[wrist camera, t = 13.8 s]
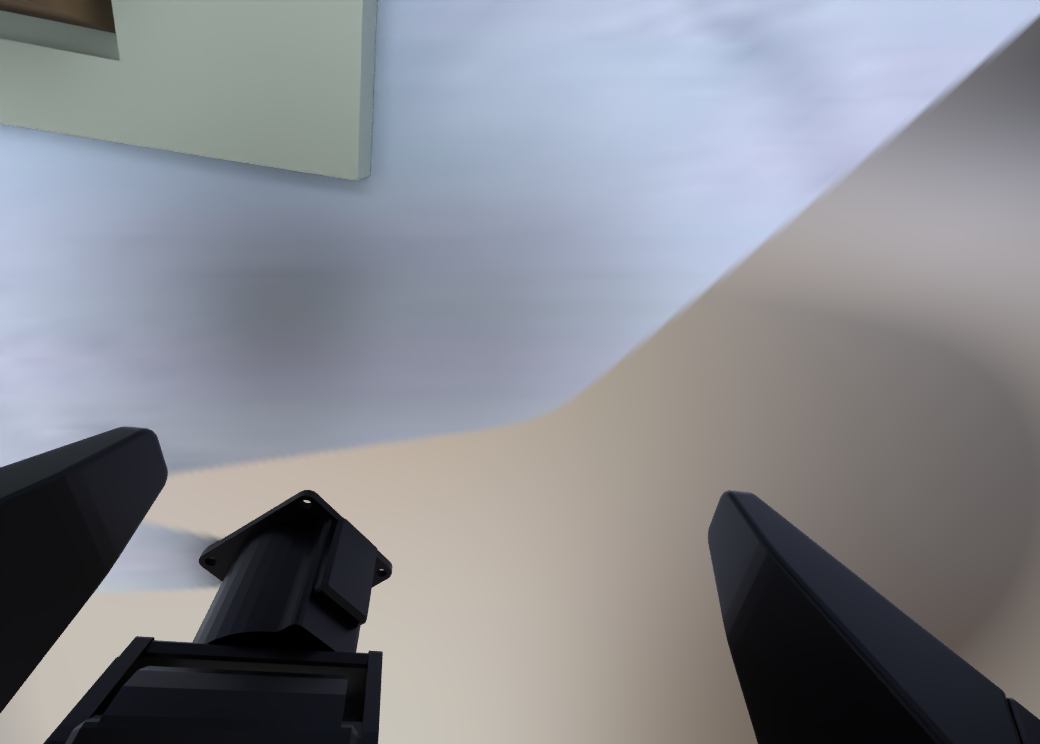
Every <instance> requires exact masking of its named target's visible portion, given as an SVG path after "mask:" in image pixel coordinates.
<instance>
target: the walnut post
mask: <svg viewBox="0 0 1040 744" xmlns="http://www.w3.org/2000/svg"><path fill="white" fill-rule="evenodd" d="M0 10H1V11H6V12H11V13H16V14H21V15H26V16H31V17H36V18H41V19H46V20H51V21H56V22H61V23H66V24H71V25H76V26H81V27H86V28H91V29H96V30H101V31H106V32H111V33H116V30H115V23H114V16H113V9H112V2H111V0H0Z"/></svg>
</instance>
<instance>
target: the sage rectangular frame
mask: <svg viewBox="0 0 1040 744" xmlns="http://www.w3.org/2000/svg"><path fill="white" fill-rule="evenodd" d="M111 2H112V9H113V16H114V23H115V30H116V33H111V32H106V31H101V30H96V29H91V28H86V27H81V26H76V25H71V24H66V23H61V22H56V21H51V20H46V19H41V18H36V17H31V16H26V15H21V14H16V13H11V12H6V11H1V10H0V124H6V125H12V126H18V127H24V128H31V129H37V130H43V131H49V132H55V133H62V134H68V135H74V136H80V137H87V138H93V139H99V140H105V141H111V142H118V143H124V144H130V145H136V146H143V147H149V148H155V149H161V150H167V151H174V152H180V153H186V154H192V155H199V156H205V157H211V158H217V159H224V160H230V161H236V162H242V163H248V164H255V165H261V166H267V167H273V168H280V169H286V170H292V171H298V172H304V173H311V174H317V175H323V176H329V177H336V178H342V179H348V180H354V181H359V180H361V179H363V178H365V177H368V176H370V170H371V145H372V119H373V93H374V67H375V41H376V15H377V0H111Z"/></svg>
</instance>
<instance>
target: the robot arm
mask: <svg viewBox="0 0 1040 744" xmlns="http://www.w3.org/2000/svg"><path fill="white" fill-rule="evenodd" d="M167 475H168V470H167V466H166V463H165V460H164V457H163V453H162V450H161V447H160V444H159V441H158V438H157V435H156V434H155V433H154V432H153V431H152V430H149V429H146V428H137V427H119V428H116V429H113V430H110V431H107V432H104V433H101V434H98V435H95V436H92V437H89V438H86V439H83V440H80V441H77V442H75V443H72V444H69V445H66V446H63V447H60V448H57V449H54V450H51V451H48V452H45V453H42V454H39V455H36V456H33V457H30V458H27V459H24V460H21V461H18V462H16V463H13V464H10V465H7V466H4V467H1V468H0V713H1V712H2V710H3V709H4V708H5V707H6V705H7V704H8V703H9V701H10V700H11V699H12V697H13V696H14V695H15V694H16V692H17V691H18V690H19V688H20V687H21V686H22V685H23V683H24V682H25V681H26V679H27V678H28V677H29V675H30V674H31V673H32V672H33V670H34V669H35V668H36V666H37V665H38V664H39V663H40V661H41V660H42V659H43V657H44V656H45V655H46V654H47V652H48V651H49V650H50V648H51V647H52V646H53V644H54V643H55V642H56V641H57V639H58V638H59V637H60V635H61V634H62V633H63V632H64V630H65V629H66V628H67V626H68V625H69V624H70V623H71V621H72V620H73V619H74V617H75V616H76V615H77V613H78V612H79V611H80V610H81V608H82V607H83V606H84V604H85V603H86V602H87V601H88V599H89V598H90V597H91V595H92V594H93V593H94V591H95V590H96V589H97V588H98V586H99V585H100V583H101V582H102V581H103V579H104V578H105V577H106V575H107V574H108V573H109V571H110V570H111V568H112V567H113V565H114V564H115V562H116V561H117V559H118V558H119V556H120V555H121V553H122V551H123V550H124V548H125V547H126V545H127V544H128V542H129V540H130V539H131V537H132V536H133V534H134V533H135V531H136V529H137V528H138V526H139V525H140V523H141V522H142V520H143V518H144V517H145V515H146V514H147V512H148V510H149V509H150V507H151V506H152V504H153V503H154V501H155V500H156V498H157V496H158V495H159V493H160V492H161V490H162V489H163V487H164V485H165V483H166V480H167ZM303 500H309V501H310V502H311V503H305V502H304V501H303ZM708 543H709V549H710V554H711V560H712V565H713V570H714V576H715V581H716V586H717V591H718V597H719V602H720V607H721V613H722V618H723V623H724V628H725V632H726V637H727V641H728V644H729V648H730V652H731V655H732V659H733V662H734V665H735V668H736V672H737V675H738V679H739V682H740V685H741V689H742V692H743V695H744V699H745V702H746V705H747V709H748V712H749V715H750V719H751V722H752V725H753V729H754V732H755V735H756V739H757V742H758V744H1040V720H1039V719H1038V718H1037V717H1036V716H1034V715H1033V714H1032V713H1031V712H1029V711H1028V710H1027V709H1026V708H1024V707H1023V706H1022V705H1021V704H1019V703H1018V702H1017V701H1015V700H1014V699H1013V698H1006V695H1005V693H1004V692H1003V691H1002V690H1001V689H1000V688H999V687H997V686H996V685H995V684H994V683H992V682H991V681H990V680H988V679H987V678H986V677H985V676H984V675H982V674H981V673H980V672H979V671H977V670H976V669H975V668H973V667H972V666H971V665H970V664H968V663H967V662H966V661H965V660H963V659H962V658H961V657H960V656H958V655H957V654H956V653H954V652H953V651H952V650H951V649H949V648H948V647H947V646H946V645H944V644H943V643H942V642H941V641H939V640H938V639H937V638H936V637H934V636H933V635H932V634H930V633H929V632H928V631H927V630H925V629H924V628H923V627H922V626H920V625H919V624H918V623H916V622H915V621H914V620H913V619H911V618H910V617H909V616H908V615H906V614H905V613H904V612H903V611H901V610H900V609H899V608H898V607H896V606H895V605H894V604H892V603H891V602H890V601H889V600H887V599H886V598H885V597H884V596H882V595H881V594H880V593H878V592H877V591H876V590H875V589H873V588H872V587H871V586H870V585H868V584H867V583H866V582H864V581H863V580H862V579H861V578H860V577H858V576H857V575H856V574H855V573H853V572H852V571H851V570H849V569H848V568H847V567H846V566H844V565H843V564H842V563H841V562H839V561H838V560H837V559H836V558H834V557H833V556H832V555H830V554H829V553H828V552H827V551H825V550H824V549H823V548H822V547H820V546H819V545H818V544H817V543H815V542H814V541H813V540H812V539H810V538H809V537H808V536H806V535H805V534H804V533H803V532H801V531H800V530H799V529H798V528H796V527H795V526H793V524H791V523H790V522H789V521H787V520H786V519H785V518H783V517H782V516H781V515H780V514H779V513H777V512H776V511H775V510H774V509H772V508H771V507H770V506H768V505H767V504H766V503H765V502H763V501H762V500H761V499H759V498H758V497H757V496H756V495H754V494H752V493H749V492H741V491H731V490H728V491H726V492H724V493H723V494H722V496H721V498H720V500H719V503H718V505H717V508H716V511H715V513H714V516H713V519H712V521H711V524H710V527H709V531H708ZM211 558H214V559H211ZM199 563H200V565H201V566H202V567H203V568H205V569H206V570H207V571H209V572H210V573H212V574H213V575H214V576H216V577H217V578H218V579H220V580H221V581H222V584H221V586H220V588H219V590H218V592H217V594H216V596H215V598H214V600H213V602H212V604H211V606H210V608H209V610H208V612H207V614H206V616H205V618H204V620H203V622H202V624H201V626H200V628H199V630H198V632H197V634H196V636H195V638H194V640H193V642H192V643H189V642H172V641H156V640H154V638H153V637H138V636H137V637H135V638H134V640H133V641H132V642H131V643H130V644H129V646H128V647H127V648H126V649H125V650H124V651H123V653H122V654H121V655H120V656H119V657H117V658H116V659H115V660H114V661H113V662H112V663H111V665H110V666H109V667H108V668H107V669H106V670H105V672H104V673H103V674H102V675H101V676H100V678H99V679H98V680H97V681H96V682H95V683H94V685H93V686H92V687H91V688H90V689H89V690H88V692H87V693H86V694H85V695H84V696H83V698H82V699H81V700H80V701H79V702H78V703H77V705H76V706H75V707H74V708H73V709H72V711H71V712H70V713H69V714H68V715H67V717H66V718H65V719H64V720H63V721H62V722H61V724H60V725H59V726H58V727H57V728H56V729H55V731H54V732H53V733H52V734H51V735H50V737H49V738H48V739H47V740H46V741H45V742H44V744H378V734H379V715H380V714H379V713H380V694H381V674H382V673H381V672H382V652H380V651H369V652H368V653H356V649H357V643H358V637H359V631H360V625H362V624H364V623H365V622H366V620H367V614H368V608H369V601H370V595H371V588H372V587H374V586H375V585H377V584H379V583H381V582H382V581H384V580H386V579H388V578H389V577H390V575H391V574H392V564H391V563H390V561H389V560H388V559H386V558H385V557H384V556H383V555H382V554H381V553H380V552H379V551H378V550H377V548H376V547H375V546H374V545H373V544H372V543H371V542H370V541H369V540H368V539H367V538H366V537H365V536H363V535H362V534H361V533H360V532H359V531H358V530H357V529H356V528H355V527H354V526H353V525H352V524H351V523H350V522H348V521H347V520H346V519H344V518H343V517H342V516H340V515H339V514H338V513H337V512H336V511H335V510H334V509H333V508H332V507H331V506H330V505H329V504H328V503H327V502H325V501H324V500H323V499H322V498H321V497H320V496H319V495H318V494H317V493H315V492H314V491H311V490H304V491H301V492H300V493H298V494H296V495H295V496H293V497H291V498H290V499H288V500H286V501H285V502H283V503H282V504H280V505H278V506H276V507H275V508H273V509H271V510H270V511H268V512H267V513H265V514H263V515H262V516H260V517H258V518H257V519H255V520H253V521H251V522H250V523H248V524H247V525H245V526H243V527H242V528H240V529H238V530H237V531H235V532H233V533H232V534H230V535H228V536H227V537H225V538H223V539H222V540H220V541H218V542H217V543H215V544H214V545H212V546H210V547H209V548H207V549H206V550H204V551H203V553H202V555H201V557H200V559H199ZM380 569H384V570H380Z"/></svg>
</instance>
